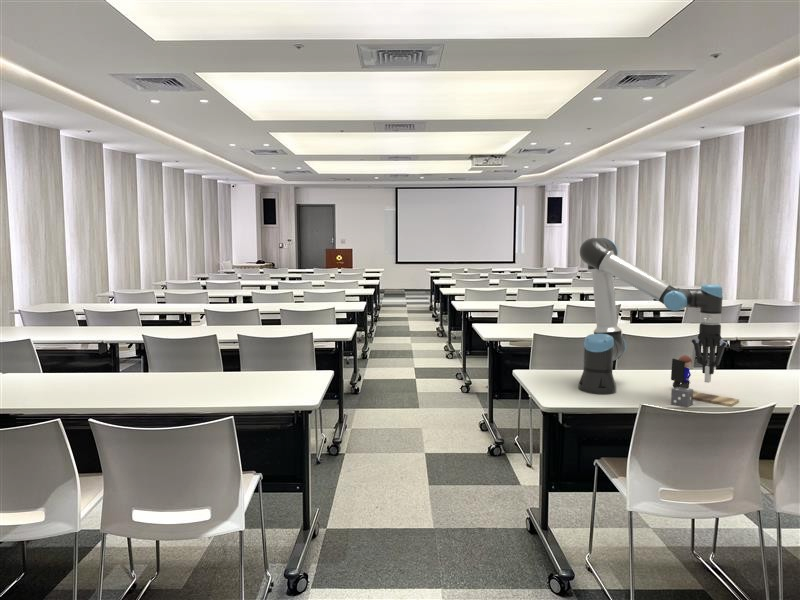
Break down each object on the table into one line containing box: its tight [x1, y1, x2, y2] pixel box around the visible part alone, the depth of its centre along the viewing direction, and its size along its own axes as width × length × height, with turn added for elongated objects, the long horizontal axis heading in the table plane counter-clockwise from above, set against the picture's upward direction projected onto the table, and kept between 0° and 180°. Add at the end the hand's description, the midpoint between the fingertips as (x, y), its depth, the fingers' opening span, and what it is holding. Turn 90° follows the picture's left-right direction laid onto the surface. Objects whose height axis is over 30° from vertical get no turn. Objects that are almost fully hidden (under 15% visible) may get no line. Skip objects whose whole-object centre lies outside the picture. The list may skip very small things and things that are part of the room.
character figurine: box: [670, 355, 693, 389], centre depth 247 cm, size 8×7×15 cm
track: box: [693, 390, 740, 408], centre depth 234 cm, size 21×10×1 cm, turn 44°
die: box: [670, 387, 694, 408], centre depth 226 cm, size 6×6×6 cm
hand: (707, 381), depth 233 cm, fingers closed
